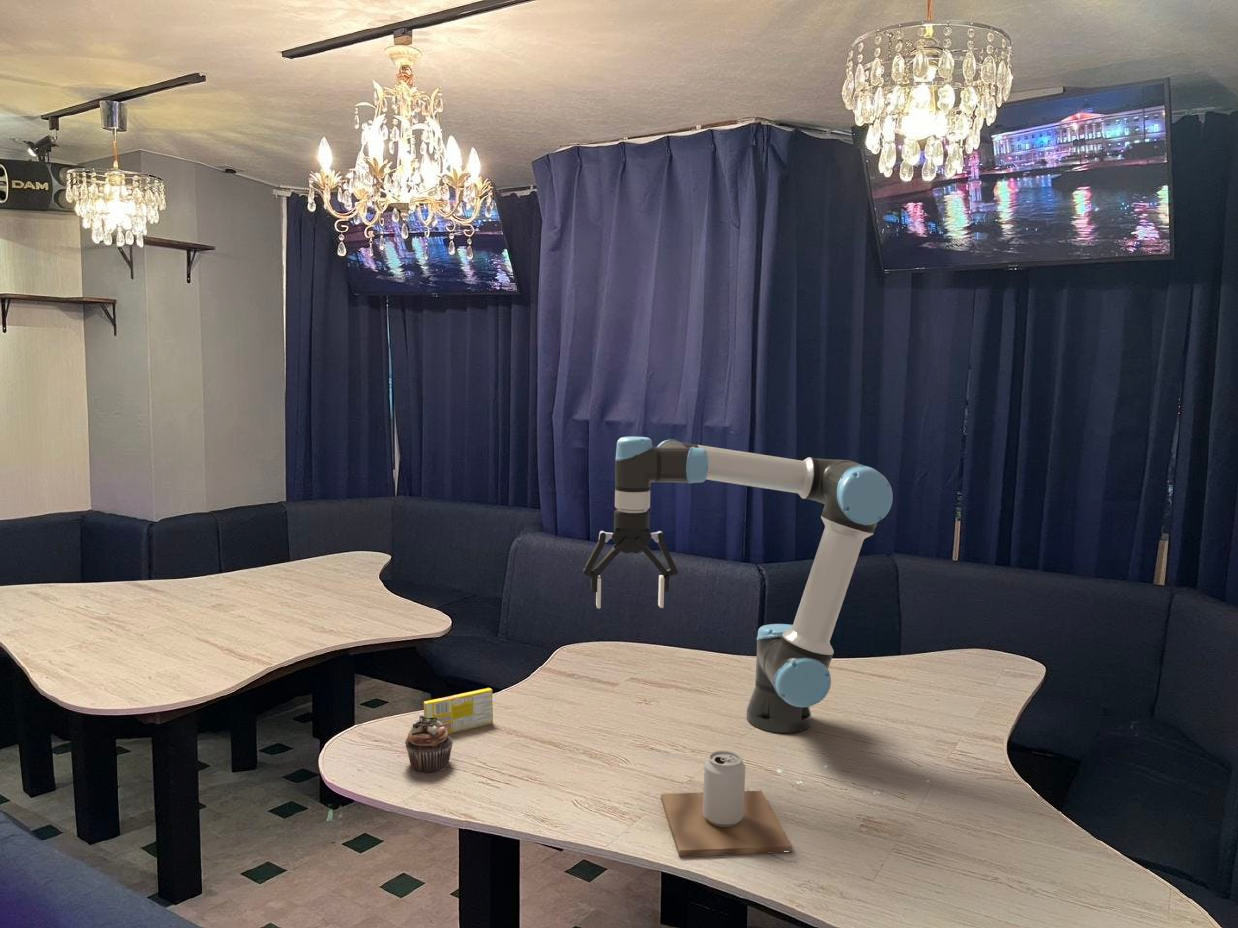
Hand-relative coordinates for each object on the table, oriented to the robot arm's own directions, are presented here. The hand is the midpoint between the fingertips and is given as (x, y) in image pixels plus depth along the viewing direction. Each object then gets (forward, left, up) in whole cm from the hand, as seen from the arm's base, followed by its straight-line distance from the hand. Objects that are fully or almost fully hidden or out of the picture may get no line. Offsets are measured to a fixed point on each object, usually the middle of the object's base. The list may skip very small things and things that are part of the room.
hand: (629, 606), depth 195 cm
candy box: (+37, -11, -32) cm, 50 cm away
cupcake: (+42, +6, -32) cm, 53 cm away
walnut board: (-14, +34, -32) cm, 49 cm away
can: (-14, +34, -31) cm, 48 cm away
